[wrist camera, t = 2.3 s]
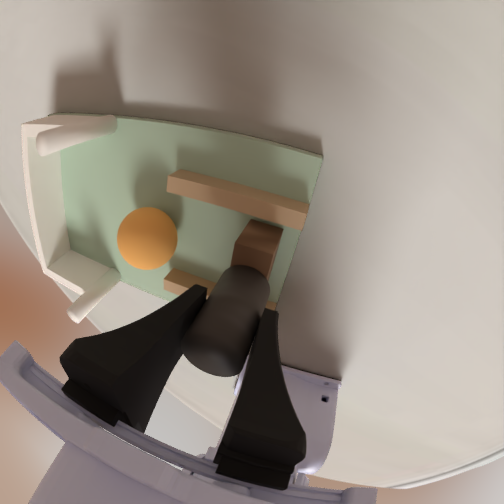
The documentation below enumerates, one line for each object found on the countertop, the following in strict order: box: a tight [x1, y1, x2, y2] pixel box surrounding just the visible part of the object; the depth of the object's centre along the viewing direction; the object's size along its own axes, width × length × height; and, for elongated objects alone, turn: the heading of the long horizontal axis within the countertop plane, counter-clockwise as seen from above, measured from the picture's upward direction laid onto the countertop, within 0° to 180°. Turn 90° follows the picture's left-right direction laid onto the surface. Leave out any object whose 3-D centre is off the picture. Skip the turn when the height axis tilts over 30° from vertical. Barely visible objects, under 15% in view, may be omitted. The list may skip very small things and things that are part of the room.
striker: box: [181, 219, 284, 377], centre depth 14 cm, size 3×5×8 cm, turn 169°
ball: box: [117, 207, 178, 270], centre depth 17 cm, size 4×4×4 cm
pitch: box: [21, 113, 323, 323], centre depth 17 cm, size 22×14×7 cm, turn 79°
